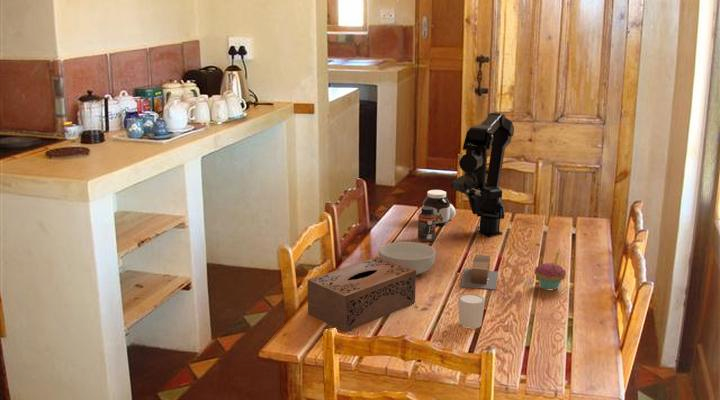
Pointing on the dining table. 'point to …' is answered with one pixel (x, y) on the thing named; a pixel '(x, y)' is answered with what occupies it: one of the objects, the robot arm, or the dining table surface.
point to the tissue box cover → (361, 293)
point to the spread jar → (439, 206)
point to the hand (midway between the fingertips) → (474, 213)
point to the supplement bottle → (426, 224)
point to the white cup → (471, 310)
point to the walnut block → (480, 269)
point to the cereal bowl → (409, 255)
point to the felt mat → (490, 285)
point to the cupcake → (550, 274)
